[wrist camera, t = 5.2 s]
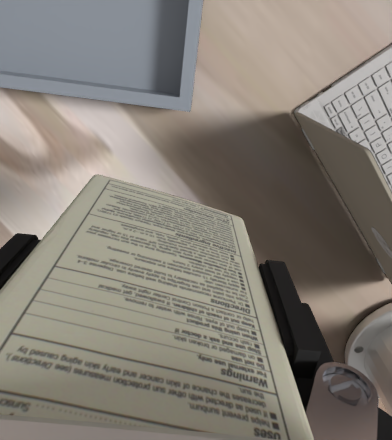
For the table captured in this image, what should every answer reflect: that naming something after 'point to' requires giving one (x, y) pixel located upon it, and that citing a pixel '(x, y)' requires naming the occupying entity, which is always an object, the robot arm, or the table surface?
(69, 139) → the table surface
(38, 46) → the tray
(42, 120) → the table surface
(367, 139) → the laptop
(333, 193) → the table surface
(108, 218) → the skincare box
